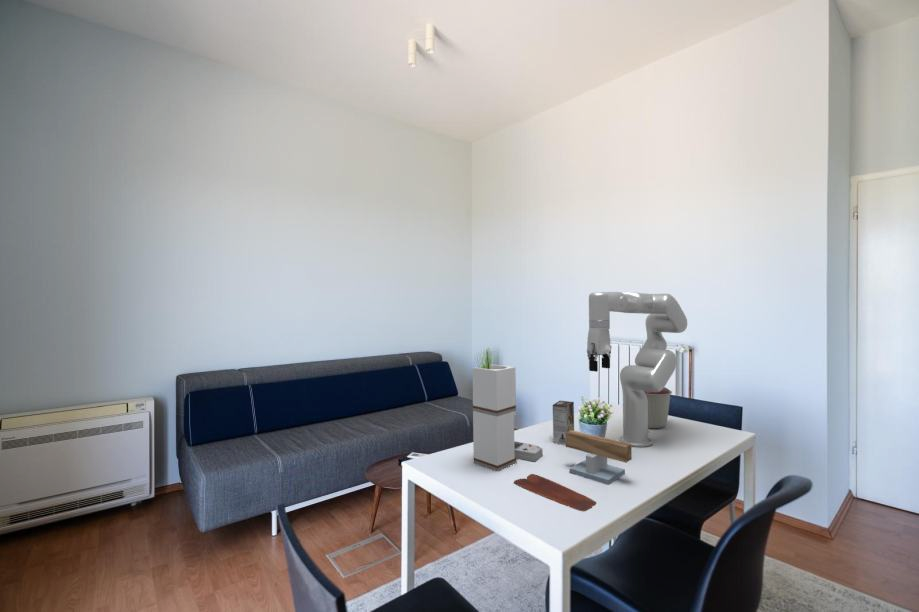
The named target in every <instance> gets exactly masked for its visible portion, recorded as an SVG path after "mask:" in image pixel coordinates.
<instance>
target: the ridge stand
mask: <svg viewBox="0 0 919 612" xmlns="http://www.w3.org/2000/svg"><path fill="white" fill-rule="evenodd" d="M568 472H569V474H573V475H576V476H578V477H579V476H580V477H583V478H586V479H589V480H592V481H595V482H599V483H601V484H604V485H608V486H609V485H611V484H612V483H613V482H615V481H617V480H618V479H619V478H621V477H622V476H624V475H625V474H626V470H625V468H621V467H618V466H614V465H611V464H608V458H606V457H603V456H599V455H595V454H591V453H587V455H585V459H584V460H582V461H581V462H579V463H577V464H575V465H572V466H571V467H569V471H568Z"/></svg>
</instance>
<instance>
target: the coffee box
mask: <svg viewBox="0 0 919 612" xmlns="http://www.w3.org/2000/svg"><path fill="white" fill-rule="evenodd" d="M574 403H575V402H574V401H568V400H558V401H557V402H555V403H554V404H552V435H553V436H552V437H553V438H552V439H553V440H552V442H553V444H556V443H557V445H563V446H566V432H568V431H571V430H573V431H575V405H574Z"/></svg>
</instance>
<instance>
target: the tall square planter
mask: <svg viewBox="0 0 919 612" xmlns="http://www.w3.org/2000/svg"><path fill="white" fill-rule="evenodd" d="M489 367H490V368H482V367H475V366H474V367H472V369H471V370H472V372H471V373H472V427H473V429H472V430H473V431H472V433H473V435H472V437H473V441H472V442H473V464H475V465H477V464H478V465H477V466H480V465H481V467H483V466H484V467H483V468H486V467H487V468H486V469H488V468H489V470H491V469H492V471H494V470H495V472H497V471H498V472H500V471H502V469H503V470H505V469H507V468H509V467H511V466H510V465H512V466H513V464H514V465H516V464H518V463H517V459H518V458H516V457H515V453H514V441H515V416H516V415H517V397H516V396H517V394H516V392H517V389H516V388H517V387H516V385H517V383H516V381H517V380H516V367H515V366H509V365H503V364H502V365H500V364H492V363H491V364H489ZM515 463H516V464H515ZM508 466H509V467H508ZM506 467H507V468H506ZM504 468H505V469H504Z"/></svg>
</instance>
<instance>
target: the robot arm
mask: <svg viewBox="0 0 919 612" xmlns="http://www.w3.org/2000/svg"><path fill="white" fill-rule="evenodd" d="M610 312H617V313H623V314H624V313H625V314H646V315H647V314H648V315H647V316H646V319H645V328H646V340H645V342H644V343H643V345H642V346H641V348H640V349H639V351H638V352H637V354H636V356H635V358H634V363H635V364H633V365H632V364H629V365H625V366H623V368H621V370H620V372H619V373H620V374H619V379H620V380H619V381H620V385H621V390H622V435H621V436H619V438H618V439H619V440H618V441H621V442H625V443H629V444H632V447H637V448H645V447H650V446H652V444H653V440H652V439H651V438H649V433H650V432H651V429H650V428H648V400H647V396H646V394H645V392H644V391H649V392H659V391H661V390H662V389H663V388H664V387H665V388H666V385H667V384H668V382H669V380H670V378H671V377H672V376H673V373H674V371H676V367H677V361H678V360H677V356H676V354H675V353H674V352H673V351H671V350H669V349H667V348H668V344H667V343H668V342H667V340H666V339H665V337H664V336H663V334H662V333H671V334H672V333H673V334H681V333H683V332H685V331H686V329H687V327H688V319H687V316H686V314H685V312H684V310H683V308H682V307H681V306H680V304H679V302H678V301H677V299H676V298H675V297H674V296H673V295H672V294H670V293H642V292H641V293H640V292H621V291H602V292H591V293H589V295H588V332H587V342H586V344H587V347H586V354H587V359H588V370H589V372H596V373H597V372H598V370H599V368H598V367H599V366H598V358H599V356H601V368H602V369H610V368H611V353H612V345H611V335H610V329H611V327H610V326H611V324H610V323H611V321H610V320H611V319H610V315H611V313H610ZM643 390H644V391H643Z"/></svg>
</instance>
